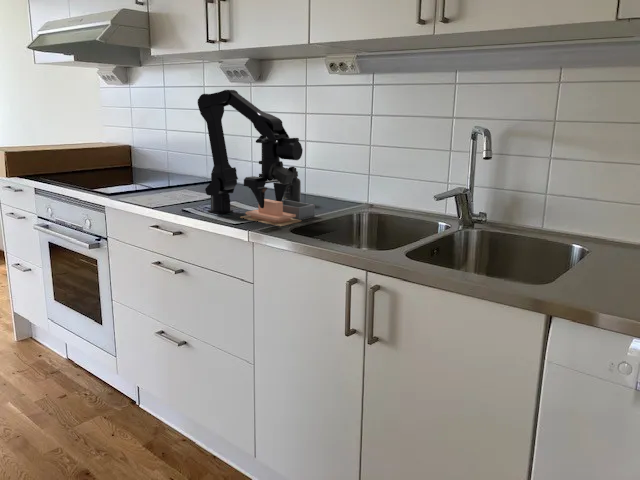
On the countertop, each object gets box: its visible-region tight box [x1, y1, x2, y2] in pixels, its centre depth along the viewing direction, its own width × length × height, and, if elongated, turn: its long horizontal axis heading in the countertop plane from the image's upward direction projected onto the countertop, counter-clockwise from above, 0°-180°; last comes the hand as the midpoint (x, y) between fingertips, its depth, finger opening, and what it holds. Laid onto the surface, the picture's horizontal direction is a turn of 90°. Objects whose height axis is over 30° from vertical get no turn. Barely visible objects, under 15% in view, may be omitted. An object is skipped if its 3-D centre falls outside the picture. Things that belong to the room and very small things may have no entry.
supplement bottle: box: [282, 170, 302, 203], centre depth 208 cm, size 7×7×12 cm
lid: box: [245, 198, 296, 223], centre depth 179 cm, size 14×8×6 cm, turn 51°
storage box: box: [281, 199, 316, 220], centre depth 187 cm, size 14×8×4 cm, turn 51°
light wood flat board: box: [239, 214, 303, 227], centre depth 180 cm, size 18×10×1 cm, turn 51°
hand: (270, 206), depth 179 cm, fingers open, 7 cm apart
